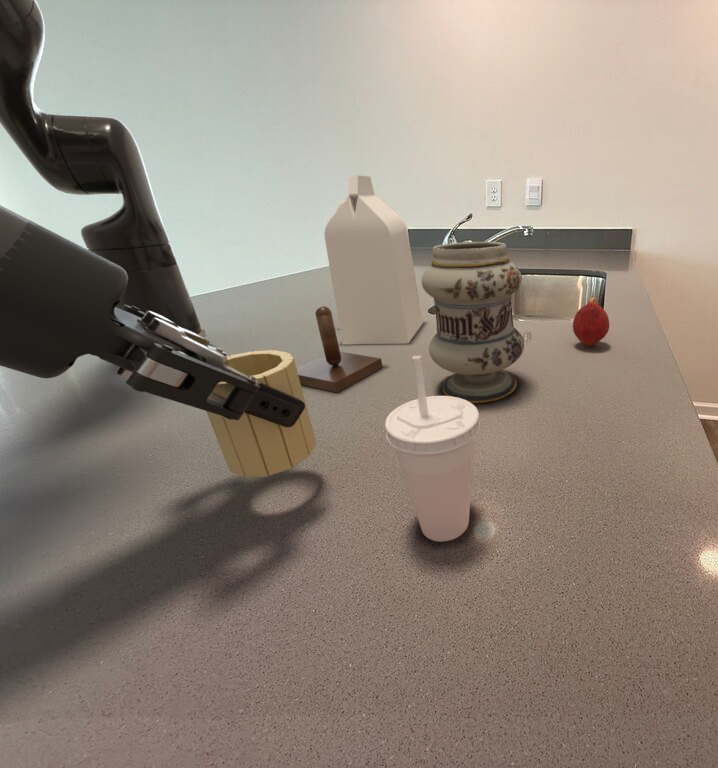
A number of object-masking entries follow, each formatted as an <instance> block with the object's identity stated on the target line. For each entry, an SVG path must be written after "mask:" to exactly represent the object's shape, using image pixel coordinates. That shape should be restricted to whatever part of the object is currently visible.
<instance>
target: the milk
mask: <svg viewBox="0 0 718 768" xmlns="http://www.w3.org/2000/svg"><path fill="white" fill-rule="evenodd" d="M324 242H325V246H326V247H325V248H326V255H327V260H328V267H329V272H330V279H331V284H332V290H333V296H334V301H335V303H334V304H335V308H336V315H337V320H338V326H339V327H338V328H339V332H340V338H341V339H340V340H341V345H343V346H344V345H397V344H398V345H401V344H402V345H403V344H405V345H406V344H410V342H411V341H412V339H413V338H414V337H415V335H416V334H417V332H418V331H419V330H420V328H421V327H422V325H423V324H424V319H423V314H422V308H421V301H420V297H419V290H418V284H417V279H416V272H415V266H414V260H413V255H412V249H411V242H410V237H409V232H408V227H407V225H406V223H405V221H404V220H403V218H402V217H401V216H400V215H398V213H396V212H395V211H394V210H393V209H392V208H390V207H389V206H388V205H387V204H386V203H385V202H383V201H382V199H380V198H379V197H378V196H377V195H376V193H375V190H374V186H373V182H372V177H371V176H368V175H348V196H347V197H346V198H345V199H343V201H342V202H341V203H340V204H339V205H338V208H337V210H336V211H335V213H334V214H333V215H332V217H331V218H330V219H329V220H328V222H327V223H326V226H325V227H324Z"/></svg>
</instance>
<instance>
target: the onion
mask: <svg viewBox="0 0 718 768" xmlns="http://www.w3.org/2000/svg"><path fill="white" fill-rule="evenodd" d="M597 301H598V300H597V299H596V298H595V297H591V298H589V300H588V302H587V303H586V304H585V305H583V306H582V307H580V308H579V309H578V311H577V312H576V314H575V315H574V318H573V321H572V330H573V331H572V332H573V334H574V336H575V337H576V338H577V339H578V341H579V342H581V343H582V344H583V345H585V346H586V347H593V346H595V345H597V344H598V343H599V342H601V340H603V339H605V338H606V336H607V334H608V333H609V330H610V320H609V316H608V313H607V312H606V310H605V309H604V308H603V307H602V306H600V304H598V303H597Z"/></svg>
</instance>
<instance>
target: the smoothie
mask: <svg viewBox="0 0 718 768" xmlns="http://www.w3.org/2000/svg"><path fill="white" fill-rule="evenodd" d="M412 365H413V374H414V381H415V388H416V396H417V398H416V399H413V400H410V401H407V402H405V403H403V404H401V405H399V406H398V407H396V408H395V409H393V410H392V411H391V412H390V413H389V414H388V416H387V417H386V419H385V422H384V428H385V432H386V434H385V436H386V439H387V442H388V444H389V445H391V446H392V447H393V448H394V450H395V453H396V457H397V460H398V463H399V465H400V468H401V471H402V474H403V477H404V481H405V483H406V486H407V490H408V492H409V496H410V499H411V502H412V505H413V508H414V511H415V514H416V517H417V520H418V523H419V526H420V530H421V532H422V534H423V535H424V536H425V537H426V538H427V539H429V540H431V541H434V542H450V541H452V540H455V539H457V538H459V537H461V536H462V535H463V534H464V533H465V532H466V530H467V529H468V527H469V524H470V511H471V497H472V485H473V483H472V482H473V470H474V469H473V468H474V457H475V446H476V436H477V435H478V434H479V433H480V429H481V421H480V414H479V413H480V412H479V410H478V408H477V407H476V406H475V404H474V403H470V402H468V401H466V400H464V399H461V398H457V397H452V396H446V395H431V396H427V392H426V383H425V376H424V368H423V361H422V356H421V355H413V356H412Z"/></svg>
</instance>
